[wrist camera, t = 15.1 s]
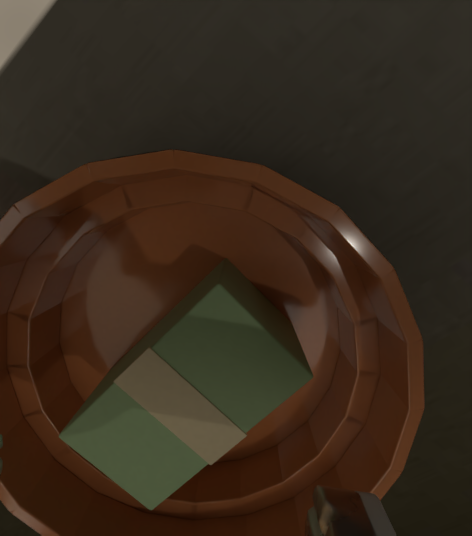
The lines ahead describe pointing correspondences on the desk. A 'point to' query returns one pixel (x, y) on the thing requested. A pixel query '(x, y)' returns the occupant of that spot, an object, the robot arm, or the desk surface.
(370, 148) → the desk surface
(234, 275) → the package
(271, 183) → the bowl
